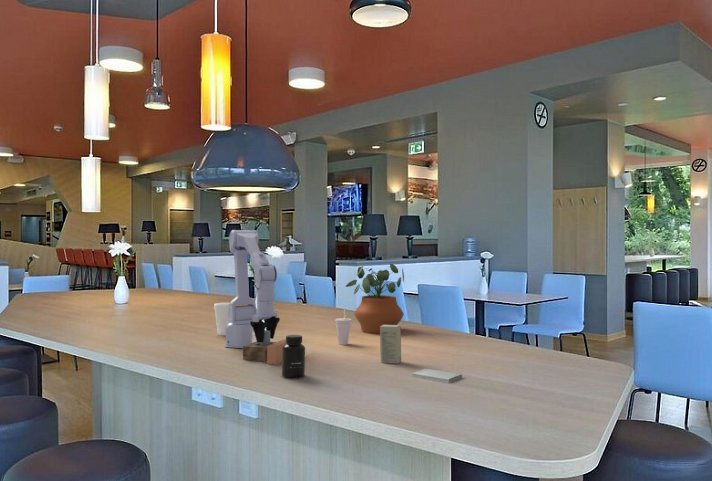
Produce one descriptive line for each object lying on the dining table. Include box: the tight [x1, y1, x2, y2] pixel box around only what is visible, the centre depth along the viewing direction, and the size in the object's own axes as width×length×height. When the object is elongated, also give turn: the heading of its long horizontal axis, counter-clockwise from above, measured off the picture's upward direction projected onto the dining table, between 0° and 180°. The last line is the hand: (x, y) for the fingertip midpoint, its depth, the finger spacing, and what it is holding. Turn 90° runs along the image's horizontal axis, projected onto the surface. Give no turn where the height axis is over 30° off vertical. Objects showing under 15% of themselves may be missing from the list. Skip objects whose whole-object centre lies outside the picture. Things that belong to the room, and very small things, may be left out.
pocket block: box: [242, 341, 277, 362], centre depth 195 cm, size 11×11×4 cm
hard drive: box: [411, 368, 463, 384], centre depth 169 cm, size 2×8×12 cm
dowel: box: [260, 330, 271, 346], centre depth 195 cm, size 4×4×8 cm
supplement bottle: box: [281, 334, 306, 380], centre depth 169 cm, size 7×7×12 cm
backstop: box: [266, 338, 287, 366], centre depth 193 cm, size 3×18×6 cm, turn 161°
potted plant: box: [345, 263, 405, 334], centre depth 256 cm, size 23×28×30 cm
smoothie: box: [334, 307, 352, 346], centre depth 221 cm, size 6×6×14 cm
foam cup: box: [213, 302, 238, 337], centre depth 243 cm, size 10×9×13 cm
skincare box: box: [379, 324, 402, 364], centre depth 189 cm, size 6×4×12 cm
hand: (265, 340), depth 195 cm, fingers open, 7 cm apart
